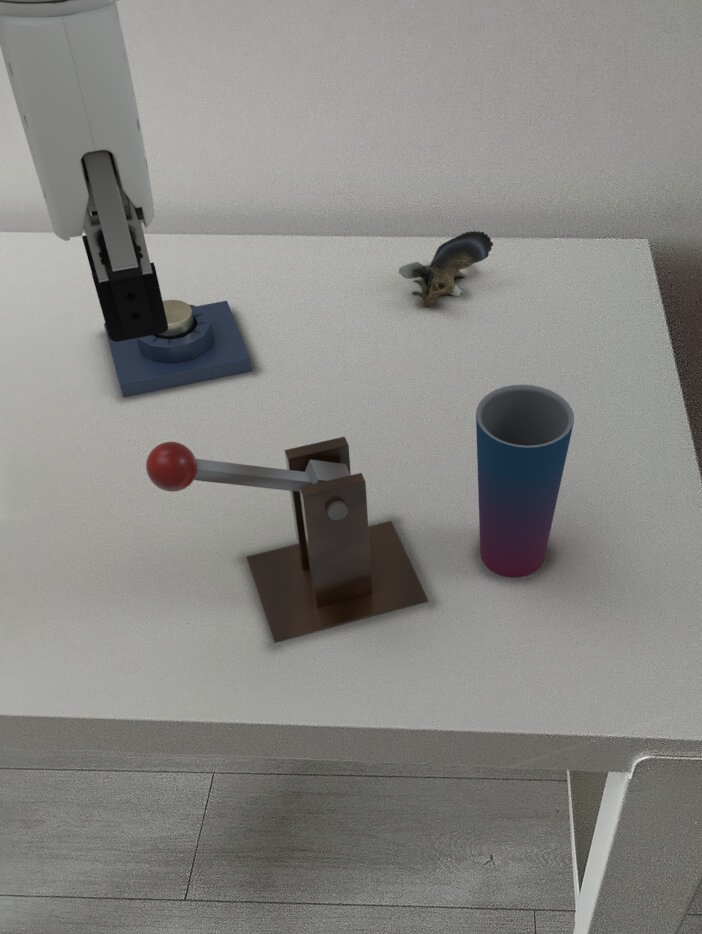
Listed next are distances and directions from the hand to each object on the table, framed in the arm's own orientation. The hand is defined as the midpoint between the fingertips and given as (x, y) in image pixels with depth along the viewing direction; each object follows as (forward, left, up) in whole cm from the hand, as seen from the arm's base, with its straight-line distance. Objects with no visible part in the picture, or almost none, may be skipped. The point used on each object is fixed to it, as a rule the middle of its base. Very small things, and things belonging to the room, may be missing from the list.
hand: (133, 312), depth 58 cm
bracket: (+10, 0, -27) cm, 29 cm away
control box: (+4, +33, -27) cm, 43 cm away
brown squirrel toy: (+32, +35, -27) cm, 55 cm away
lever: (+4, 0, -15) cm, 16 cm away
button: (+4, +33, -24) cm, 41 cm away
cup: (+24, -2, -27) cm, 36 cm away
